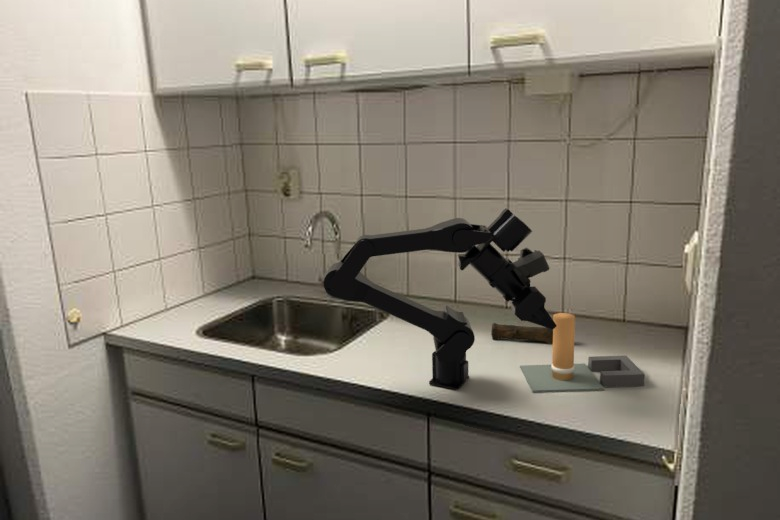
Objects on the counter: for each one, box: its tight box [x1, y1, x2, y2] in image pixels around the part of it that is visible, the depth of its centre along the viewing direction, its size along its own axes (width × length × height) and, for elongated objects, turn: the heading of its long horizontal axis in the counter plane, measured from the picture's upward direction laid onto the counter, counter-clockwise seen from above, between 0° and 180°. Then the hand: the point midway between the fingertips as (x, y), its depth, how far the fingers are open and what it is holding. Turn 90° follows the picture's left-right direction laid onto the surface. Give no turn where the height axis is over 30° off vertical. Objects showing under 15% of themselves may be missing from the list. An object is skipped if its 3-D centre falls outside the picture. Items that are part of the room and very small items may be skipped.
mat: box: [519, 363, 605, 393], centre depth 123 cm, size 14×12×1 cm
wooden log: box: [491, 322, 553, 345], centre depth 142 cm, size 19×4×5 cm, turn 69°
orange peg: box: [550, 312, 576, 381], centre depth 121 cm, size 4×4×13 cm
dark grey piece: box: [587, 355, 646, 388], centre depth 122 cm, size 8×9×2 cm
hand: (548, 319), depth 120 cm, fingers open, 9 cm apart
